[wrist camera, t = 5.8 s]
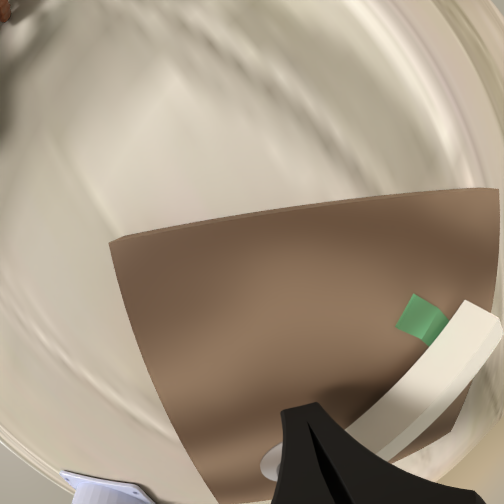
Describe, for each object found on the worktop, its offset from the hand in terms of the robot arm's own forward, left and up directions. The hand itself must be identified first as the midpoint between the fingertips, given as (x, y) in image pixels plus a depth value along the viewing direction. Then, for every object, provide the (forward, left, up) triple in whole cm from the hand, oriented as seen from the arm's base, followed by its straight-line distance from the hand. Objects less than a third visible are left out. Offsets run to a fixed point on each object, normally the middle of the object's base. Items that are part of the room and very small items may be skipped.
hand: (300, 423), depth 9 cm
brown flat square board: (-2, -4, -3) cm, 5 cm away
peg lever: (-3, -4, -1) cm, 5 cm away
